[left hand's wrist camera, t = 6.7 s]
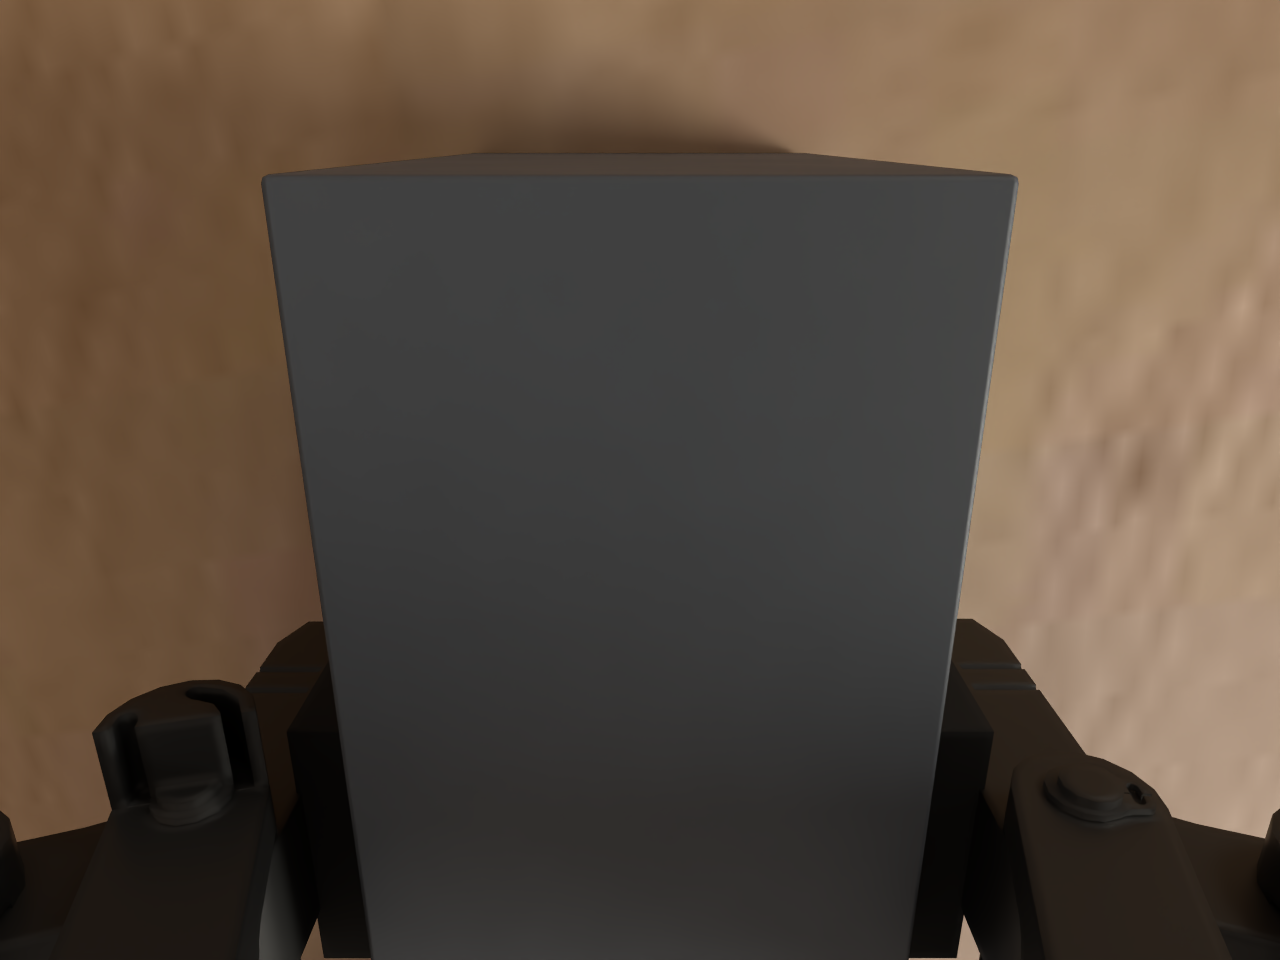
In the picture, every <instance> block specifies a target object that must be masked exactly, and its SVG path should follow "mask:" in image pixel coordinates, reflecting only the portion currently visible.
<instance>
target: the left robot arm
mask: <svg viewBox="0 0 1280 960" xmlns="http://www.w3.org/2000/svg"><path fill="white" fill-rule="evenodd" d="M92 735H93V739H94V742H95V746H96V750H97V754H98V758H99V762H100V766H101V770H102V773H103V777H104V781H105V785H106V789H107V793H108V797H109V800H110V804H111V808H112V811H111V813H110V816H109V818H108V821H107V822H103V823H100V824H96V825H93V826H89V827H85V828H81V829H76V830H72V831H67V832H62V833H58V834H53V835H48V836H44V837H39V838H35V839H30V840H25V841H21V842H16V838H15V835H14V832H13V829H12V825H11V822H10V819H9V818H8V817H7V816H6V815H5V814H3V813H2V812H1V811H0V960H301V956H302V953H303V951H304V948H305V946H306V944H307V941H308V939H309V936H310V934H311V931H312V929H313V927H314V924H315V922H316V919H317V918H318V924H319V930H320V936H321V942H322V948H323V954H324V958H371V954H370V947H369V940H368V933H367V926H366V919H365V912H364V905H363V898H362V891H361V883H360V876H359V869H358V862H357V855H356V848H355V841H354V834H353V827H352V820H351V813H350V806H349V799H348V792H347V785H346V778H345V771H344V764H343V756H342V749H341V742H340V735H339V728H338V721H337V714H336V707H335V700H334V693H333V686H332V679H331V672H330V665H329V658H328V651H327V644H326V637H325V629H324V622H308V623H306V624H305V625H303V626H302V627H300V628H299V629H297V630H296V631H294V632H293V633H291V634H290V635H288V636H287V637H286V638H284V639H283V640H281V641H280V642H278V643H277V644H276V646H275V647H274V649H273V650H272V651H271V653H270V654H269V656H268V657H267V658H266V660H265V661H264V663H263V664H262V665H261V667H260V672H256V674H255V675H254V677H253V678H252V679H251V681H250V682H249V684H248V685H247V686H246V689H245V688H244V687H243V686H241V685H239V684H235V683H230V682H226V681H222V680H192V681H186V682H182V683H177V684H173V685H168V686H164V687H160V688H157V689H155V690H152V691H150V692H147V693H145V694H142V695H140V696H138V697H135V698H133V699H131V700H129V701H128V702H126V703H124V704H123V705H121V706H120V707H118V708H117V709H115V710H114V711H112V712H111V713H109V714H108V715H107V716H106V717H105V718H104V719H103V720H102V722H101V723H100V724H99V725H98V726H97V728H96V729H95V730H94V731H93V732H92ZM963 916H965V918H966V921H967V923H968V925H969V928H970V930H971V933H972V935H973V937H974V940H975V942H976V945H977V947H978V950H979V952H980V957H979V960H1280V809H1279V810H1278V811H1276V812H1275V813H1274V814H1273V815H1272V818H1271V822H1270V825H1269V828H1268V831H1267V834H1266V838H1265V839H1264V838H1259V837H1255V836H1250V835H1246V834H1241V833H1236V832H1232V831H1227V830H1222V829H1218V828H1213V827H1208V826H1204V825H1199V824H1195V823H1191V822H1188V821H1184V820H1181V819H1177V818H1173V817H1171V814H1170V812H1169V810H1168V808H1167V807H1166V805H1165V804H1164V802H1163V801H1162V800H1161V798H1160V797H1159V795H1158V794H1157V792H1156V791H1155V790H1154V789H1153V788H1152V787H1150V786H1149V785H1148V784H1146V783H1145V782H1144V781H1142V780H1141V779H1140V778H1139V777H1137V776H1136V775H1135V774H1133V773H1132V772H1130V771H1128V770H1126V769H1124V768H1121V767H1119V766H1117V765H1115V764H1113V763H1111V762H1109V761H1106V760H1104V759H1101V758H1097V757H1093V756H1089V755H1086V754H1085V753H1084V751H1083V750H1082V748H1081V747H1080V746H1079V744H1078V743H1077V741H1076V740H1075V739H1074V737H1073V736H1072V734H1071V733H1070V732H1069V730H1068V729H1067V728H1066V726H1065V725H1064V723H1063V722H1062V721H1061V719H1060V718H1059V716H1058V715H1057V714H1056V712H1055V711H1054V709H1053V708H1052V707H1051V705H1050V704H1049V703H1048V701H1047V700H1046V698H1045V697H1044V696H1043V694H1042V693H1041V691H1040V690H1036V684H1035V683H1034V682H1033V680H1032V679H1031V678H1030V676H1029V675H1028V673H1027V672H1026V671H1025V669H1021V664H1020V662H1019V661H1018V659H1017V658H1016V657H1015V655H1014V654H1013V653H1012V651H1011V650H1010V648H1009V647H1008V646H1007V644H1006V643H1005V641H1004V640H1003V639H1001V638H1000V637H998V636H997V635H995V634H994V633H992V632H991V631H989V630H988V629H986V628H985V627H983V626H982V625H981V624H979V623H978V622H976V621H975V620H973V619H957V621H956V628H955V635H954V643H953V650H952V657H951V664H950V671H949V678H948V685H947V692H946V699H945V706H944V713H943V720H942V727H941V734H940V741H939V748H938V755H937V762H936V769H935V777H934V784H933V791H932V798H931V805H930V812H929V819H928V826H927V833H926V840H925V847H924V854H923V861H922V868H921V875H920V882H919V889H918V896H917V903H916V910H915V918H914V925H913V932H912V939H911V946H910V953H909V958H957V952H958V946H959V940H960V934H961V928H962V922H963Z"/></svg>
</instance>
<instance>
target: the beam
mask: <svg viewBox="0 0 1280 960" xmlns="http://www.w3.org/2000/svg"><path fill="white" fill-rule="evenodd" d="M1018 184H1019V183H1018V178H1017V177H1016V176H1013V175H1011V174H1002V173H992V172H982V171H973V170H963V169H953V168H943V167H934V166H924V165H914V164H905V163H895V162H885V161H875V160H866V159H856V158H846V157H837V156H827V155H817V154H807V153H472V154H462V155H453V156H443V157H433V158H424V159H414V160H404V161H394V162H385V163H375V164H365V165H355V166H346V167H336V168H326V169H317V170H307V171H297V172H287V173H278V174H269V175H266V176H264V177H263V178H262V182H261V185H262V192H263V199H264V206H265V213H266V220H267V227H268V234H269V241H270V249H271V256H272V263H273V270H274V277H275V284H276V291H277V298H278V305H279V312H280V319H281V326H282V333H283V340H284V347H285V354H286V361H287V368H288V376H289V383H290V390H291V397H292V404H293V411H294V418H295V425H296V432H297V439H298V446H299V453H300V460H301V467H302V474H303V481H304V488H305V495H306V503H307V510H308V517H309V524H310V531H311V538H312V545H313V552H314V559H315V566H316V573H317V580H318V587H319V594H320V601H321V608H322V615H323V622H324V629H325V637H326V644H327V651H328V658H329V665H330V672H331V679H332V686H333V693H334V700H335V707H336V714H337V721H338V728H339V735H340V742H341V749H342V756H343V764H344V771H345V778H346V785H347V792H348V799H349V806H350V813H351V820H352V827H353V834H354V841H355V848H356V855H357V862H358V869H359V876H360V883H361V891H362V898H363V905H364V912H365V919H366V926H367V933H368V940H369V947H370V954H371V960H909V953H910V946H911V939H912V932H913V925H914V918H915V910H916V903H917V896H918V889H919V882H920V875H921V868H922V861H923V854H924V847H925V840H926V833H927V826H928V819H929V812H930V805H931V798H932V791H933V784H934V777H935V769H936V762H937V755H938V748H939V741H940V734H941V727H942V720H943V713H944V706H945V699H946V692H947V685H948V678H949V671H950V664H951V657H952V650H953V643H954V635H955V628H956V621H957V614H958V607H959V600H960V593H961V586H962V579H963V572H964V565H965V558H966V551H967V544H968V537H969V530H970V523H971V516H972V509H973V501H974V494H975V487H976V480H977V473H978V466H979V459H980V452H981V445H982V438H983V431H984V424H985V417H986V410H987V403H988V396H989V389H990V382H991V375H992V367H993V360H994V353H995V346H996V339H997V332H998V325H999V318H1000V311H1001V304H1002V297H1003V290H1004V283H1005V276H1006V269H1007V262H1008V255H1009V248H1010V241H1011V233H1012V226H1013V219H1014V212H1015V205H1016V198H1017V191H1018Z"/></svg>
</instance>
